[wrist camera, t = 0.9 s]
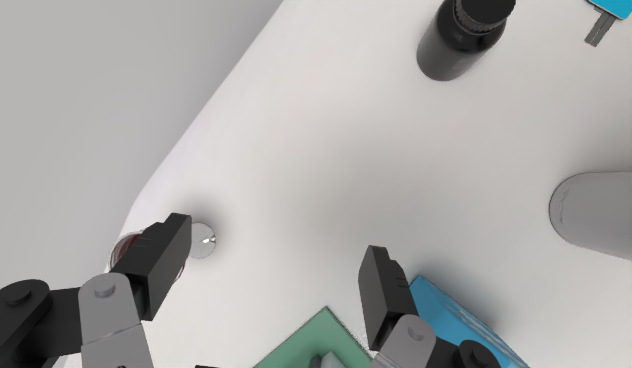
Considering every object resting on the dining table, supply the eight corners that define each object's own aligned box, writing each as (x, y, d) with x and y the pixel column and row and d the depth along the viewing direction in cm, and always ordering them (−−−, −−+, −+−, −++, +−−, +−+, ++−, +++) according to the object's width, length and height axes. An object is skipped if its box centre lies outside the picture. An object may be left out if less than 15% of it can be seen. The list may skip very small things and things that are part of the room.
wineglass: (183, 210, 41) (118, 221, 29) (228, 225, 41) (179, 243, 29) (169, 255, 42) (99, 285, 30) (213, 271, 41) (159, 308, 29)
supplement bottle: (479, 39, 38) (542, -28, 26) (458, 89, 38) (511, 47, 26) (427, 21, 38) (466, -52, 26) (407, 71, 38) (436, 22, 26)
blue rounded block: (493, 330, 38) (562, 399, 26) (470, 357, 38) (529, 438, 26) (416, 271, 38) (449, 312, 27) (395, 298, 39) (417, 350, 27)
